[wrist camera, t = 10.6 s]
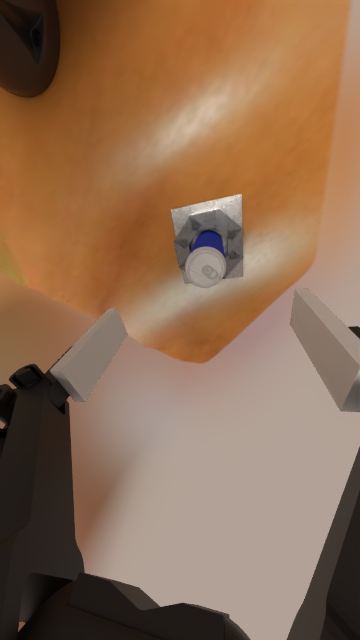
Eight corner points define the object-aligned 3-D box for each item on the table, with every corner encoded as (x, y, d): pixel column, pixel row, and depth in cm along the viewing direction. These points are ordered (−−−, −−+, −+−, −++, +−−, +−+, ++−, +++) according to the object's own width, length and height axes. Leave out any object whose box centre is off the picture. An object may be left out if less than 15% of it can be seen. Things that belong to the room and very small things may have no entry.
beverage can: (190, 249, 36) (176, 276, 23) (205, 223, 33) (198, 239, 21) (212, 263, 37) (210, 297, 24) (228, 239, 34) (235, 264, 21)
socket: (171, 209, 33) (166, 211, 30) (240, 193, 31) (244, 193, 27) (185, 281, 41) (182, 290, 37) (242, 274, 38) (245, 283, 34)
